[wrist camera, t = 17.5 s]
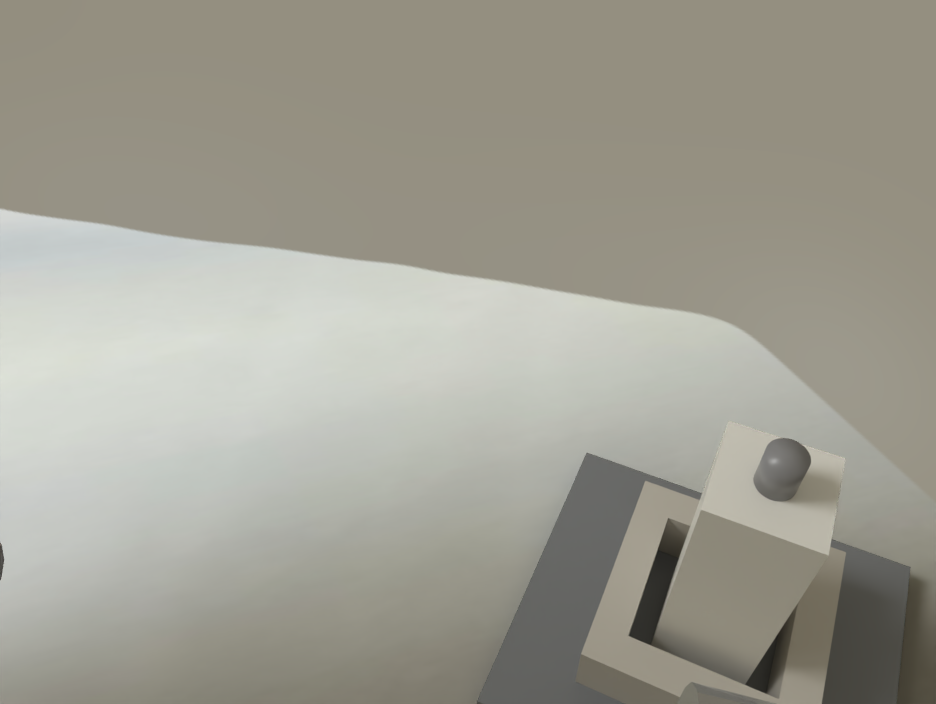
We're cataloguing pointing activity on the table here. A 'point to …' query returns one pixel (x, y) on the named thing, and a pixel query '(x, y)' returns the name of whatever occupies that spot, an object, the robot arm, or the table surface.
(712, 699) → the robot arm
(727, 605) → the plug block
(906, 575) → the socket plate
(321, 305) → the table surface
